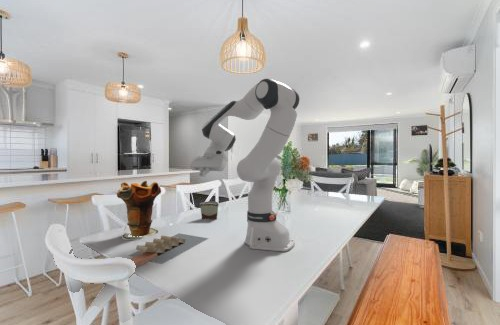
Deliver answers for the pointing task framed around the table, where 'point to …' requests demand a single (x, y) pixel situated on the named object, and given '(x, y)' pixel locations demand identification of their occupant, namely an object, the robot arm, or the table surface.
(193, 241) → the mat
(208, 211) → the food container
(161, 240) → the domino
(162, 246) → the domino
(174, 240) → the domino
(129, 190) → the decorative vase
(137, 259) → the domino
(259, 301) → the table surface
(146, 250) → the domino
